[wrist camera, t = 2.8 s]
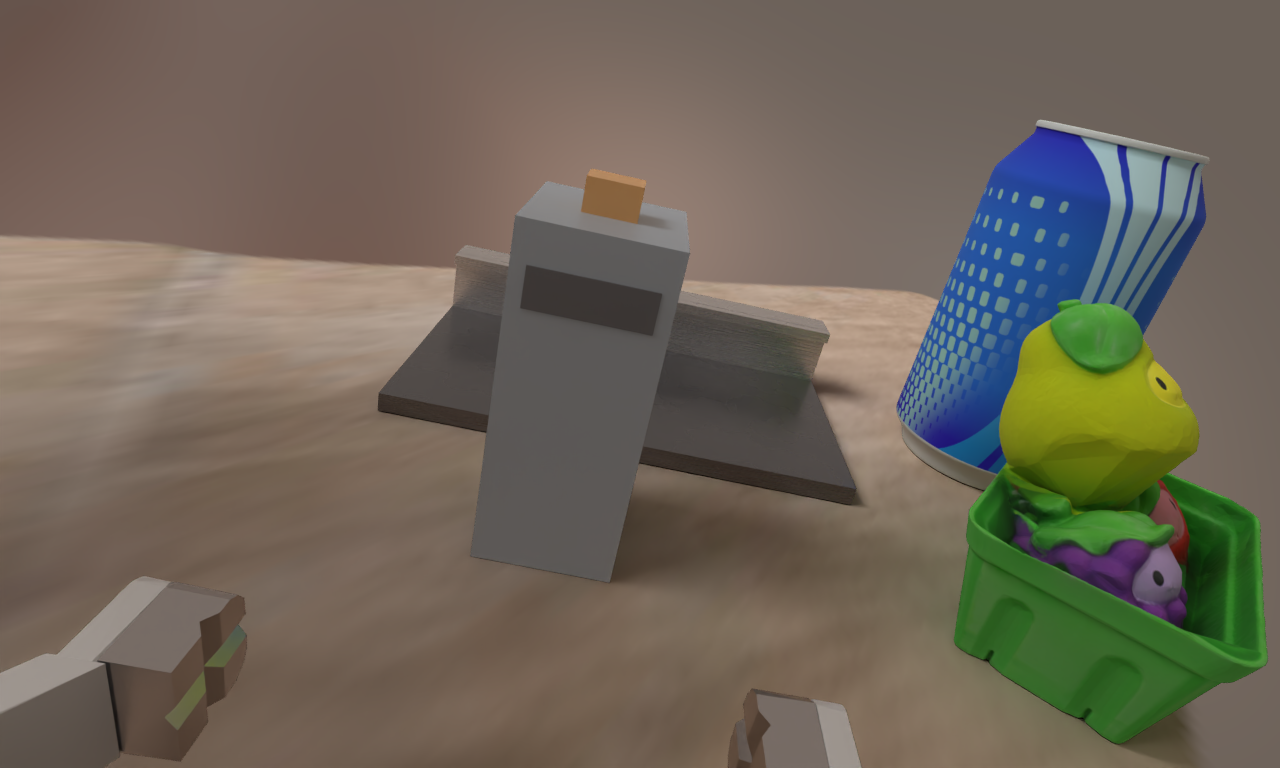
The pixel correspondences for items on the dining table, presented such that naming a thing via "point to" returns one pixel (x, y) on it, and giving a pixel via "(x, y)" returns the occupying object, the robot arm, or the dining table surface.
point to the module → (577, 372)
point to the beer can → (1044, 276)
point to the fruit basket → (1107, 537)
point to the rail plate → (686, 393)
